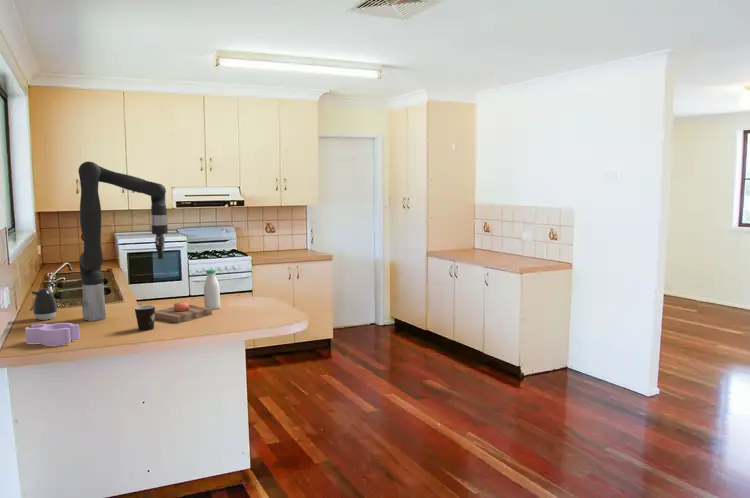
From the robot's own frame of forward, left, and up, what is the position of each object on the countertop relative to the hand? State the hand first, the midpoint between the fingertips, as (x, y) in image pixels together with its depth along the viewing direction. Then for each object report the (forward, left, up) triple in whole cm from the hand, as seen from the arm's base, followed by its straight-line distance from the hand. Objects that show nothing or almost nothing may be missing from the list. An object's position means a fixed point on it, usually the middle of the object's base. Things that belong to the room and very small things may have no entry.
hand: (160, 258), depth 303 cm
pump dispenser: (-39, +39, -27) cm, 61 cm away
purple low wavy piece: (-60, -6, -28) cm, 66 cm away
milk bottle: (+19, -14, -27) cm, 36 cm away
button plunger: (-1, -15, -24) cm, 28 cm away
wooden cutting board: (-1, -15, -27) cm, 31 cm away
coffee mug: (-24, -21, -27) cm, 42 cm away
